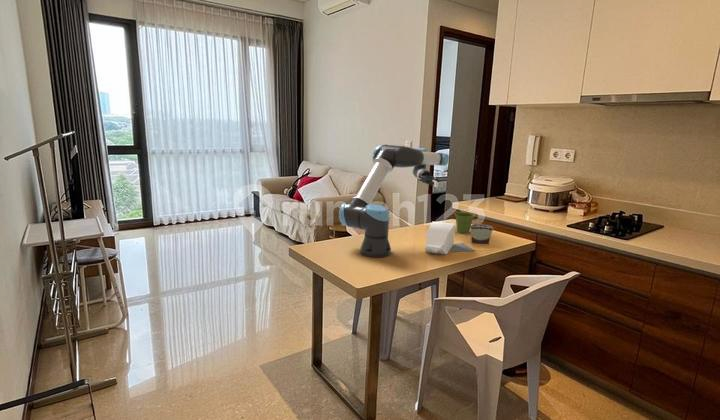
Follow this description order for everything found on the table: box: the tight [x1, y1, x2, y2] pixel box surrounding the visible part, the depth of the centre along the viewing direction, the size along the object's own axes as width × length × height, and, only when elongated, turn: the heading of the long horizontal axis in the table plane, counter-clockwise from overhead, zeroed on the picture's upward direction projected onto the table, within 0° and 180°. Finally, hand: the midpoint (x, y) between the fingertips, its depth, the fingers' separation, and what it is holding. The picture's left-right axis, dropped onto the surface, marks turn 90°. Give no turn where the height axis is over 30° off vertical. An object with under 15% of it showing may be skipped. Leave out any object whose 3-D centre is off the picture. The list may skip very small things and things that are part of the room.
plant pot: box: [454, 211, 476, 235], centre depth 230 cm, size 12×12×11 cm
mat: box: [448, 242, 475, 253], centre depth 201 cm, size 16×12×1 cm
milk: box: [425, 221, 456, 256], centre depth 195 cm, size 12×12×26 cm
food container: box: [470, 223, 494, 246], centre depth 211 cm, size 12×6×10 cm, turn 84°
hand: (437, 185), depth 216 cm, fingers closed
